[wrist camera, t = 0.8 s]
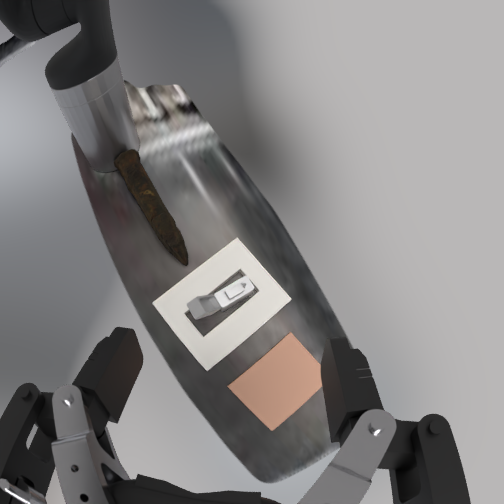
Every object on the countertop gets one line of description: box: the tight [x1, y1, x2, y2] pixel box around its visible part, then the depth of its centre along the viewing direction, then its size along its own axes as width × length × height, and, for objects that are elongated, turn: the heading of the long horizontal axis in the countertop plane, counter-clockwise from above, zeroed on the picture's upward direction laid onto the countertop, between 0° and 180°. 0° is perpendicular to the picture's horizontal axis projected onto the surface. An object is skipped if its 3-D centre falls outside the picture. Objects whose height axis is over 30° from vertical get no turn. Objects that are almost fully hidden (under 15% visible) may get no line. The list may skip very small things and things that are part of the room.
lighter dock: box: [153, 238, 291, 371], centre depth 31 cm, size 10×13×2 cm
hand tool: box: [114, 149, 188, 266], centre depth 33 cm, size 19×4×5 cm, turn 33°
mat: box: [228, 332, 322, 431], centre depth 30 cm, size 8×10×1 cm
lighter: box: [187, 276, 254, 320], centre depth 28 cm, size 7×2×8 cm, turn 123°
